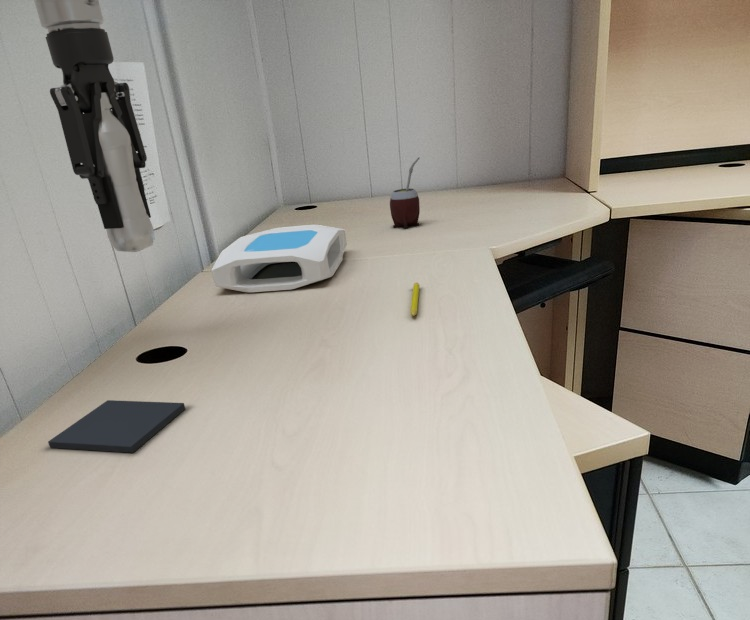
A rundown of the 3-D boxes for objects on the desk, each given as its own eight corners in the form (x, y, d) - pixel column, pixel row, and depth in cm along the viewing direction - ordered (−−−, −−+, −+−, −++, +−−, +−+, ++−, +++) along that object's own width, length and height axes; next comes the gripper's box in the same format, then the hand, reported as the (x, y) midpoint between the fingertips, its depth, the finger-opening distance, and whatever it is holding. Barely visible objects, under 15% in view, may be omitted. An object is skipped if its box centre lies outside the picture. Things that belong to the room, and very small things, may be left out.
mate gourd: (393, 224, 164) (387, 157, 155) (424, 221, 162) (420, 153, 154) (390, 230, 157) (384, 160, 149) (423, 227, 156) (419, 157, 148)
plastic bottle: (103, 256, 97) (55, 97, 86) (133, 245, 102) (92, 94, 91) (138, 256, 94) (93, 93, 84) (167, 245, 100) (128, 90, 89)
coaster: (50, 447, 74) (47, 441, 73) (109, 405, 83) (107, 399, 82) (133, 453, 71) (130, 446, 70) (185, 408, 79) (184, 402, 79)
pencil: (413, 288, 113) (413, 282, 112) (419, 288, 113) (419, 282, 112) (410, 319, 99) (409, 312, 98) (416, 318, 99) (416, 312, 98)
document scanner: (348, 251, 143) (344, 221, 139) (326, 287, 119) (321, 252, 116) (254, 259, 146) (248, 229, 142) (215, 295, 123) (207, 261, 119)
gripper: (47, 22, 75) (110, 236, 87) (143, 27, 90) (184, 209, 103) (-5, 31, 77) (63, 238, 90) (97, 34, 92) (143, 211, 105)
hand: (128, 222), depth 96 cm, fingers closed on plastic bottle, 6 cm apart
